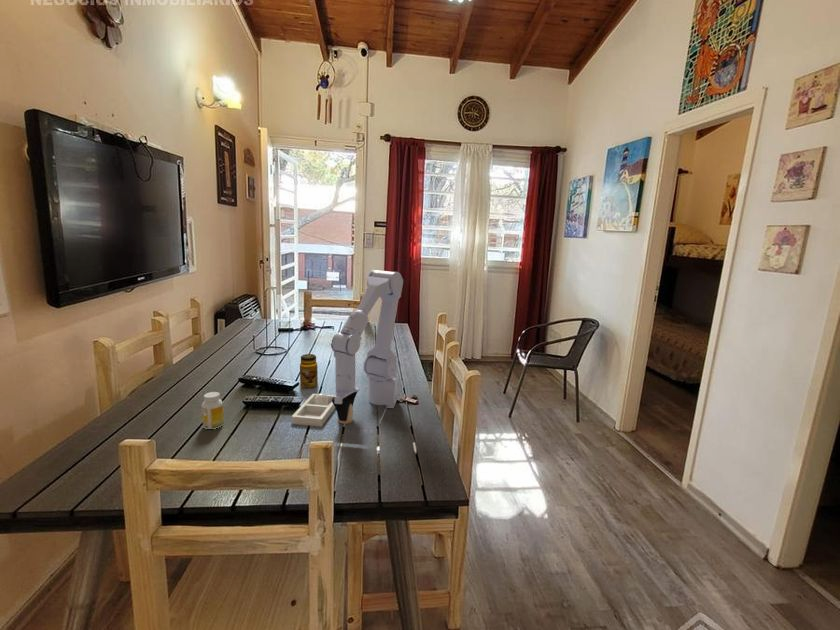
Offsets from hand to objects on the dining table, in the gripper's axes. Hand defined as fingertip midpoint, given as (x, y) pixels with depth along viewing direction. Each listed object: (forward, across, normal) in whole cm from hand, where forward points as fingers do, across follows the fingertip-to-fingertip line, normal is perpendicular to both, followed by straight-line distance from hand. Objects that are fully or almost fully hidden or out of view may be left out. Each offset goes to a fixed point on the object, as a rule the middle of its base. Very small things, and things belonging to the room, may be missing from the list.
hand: (345, 416), depth 123 cm
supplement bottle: (+2, -9, +36) cm, 37 cm away
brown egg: (+2, 0, 0) cm, 2 cm away
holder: (+2, +4, +10) cm, 11 cm away
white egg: (+1, +8, +10) cm, 13 cm away
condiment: (+2, +24, +21) cm, 32 cm away
